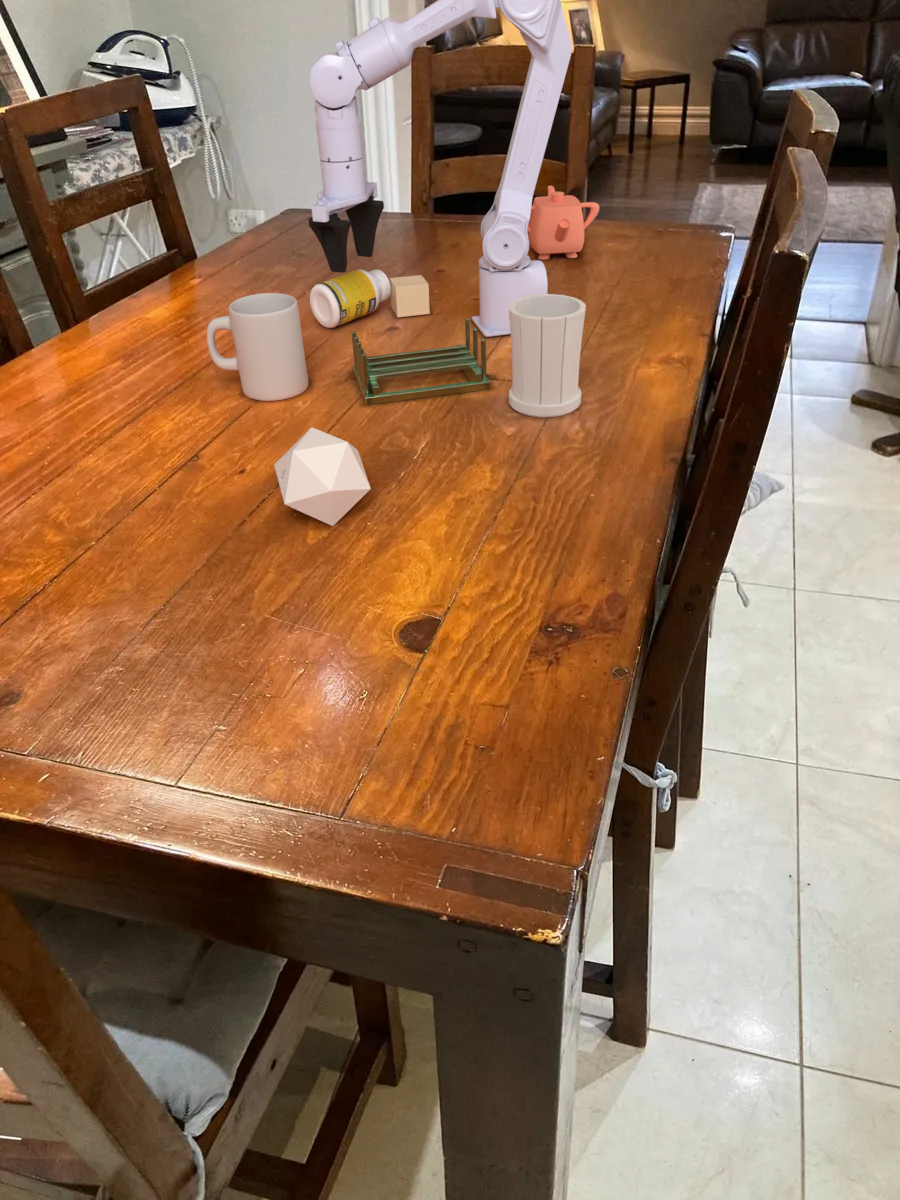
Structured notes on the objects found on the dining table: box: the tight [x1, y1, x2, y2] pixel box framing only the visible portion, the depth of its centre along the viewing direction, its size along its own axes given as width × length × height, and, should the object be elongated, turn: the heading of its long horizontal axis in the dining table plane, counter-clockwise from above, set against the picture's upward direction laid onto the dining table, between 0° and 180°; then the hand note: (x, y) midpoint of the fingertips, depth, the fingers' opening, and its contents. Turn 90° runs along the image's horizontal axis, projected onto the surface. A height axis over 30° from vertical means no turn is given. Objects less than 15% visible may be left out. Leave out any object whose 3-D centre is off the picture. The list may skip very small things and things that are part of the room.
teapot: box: [527, 185, 600, 260], centre depth 163 cm, size 14×12×10 cm
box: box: [388, 274, 431, 318], centre depth 142 cm, size 5×5×4 cm
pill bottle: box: [309, 268, 391, 329], centre depth 139 cm, size 6×6×12 cm
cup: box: [508, 293, 587, 419], centre depth 111 cm, size 10×9×12 cm
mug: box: [206, 292, 310, 402], centre depth 118 cm, size 12×8×11 cm
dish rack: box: [351, 317, 492, 406], centre depth 119 cm, size 16×11×6 cm
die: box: [273, 426, 372, 527], centre depth 92 cm, size 8×9×10 cm
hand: (352, 263), depth 131 cm, fingers open, 7 cm apart
